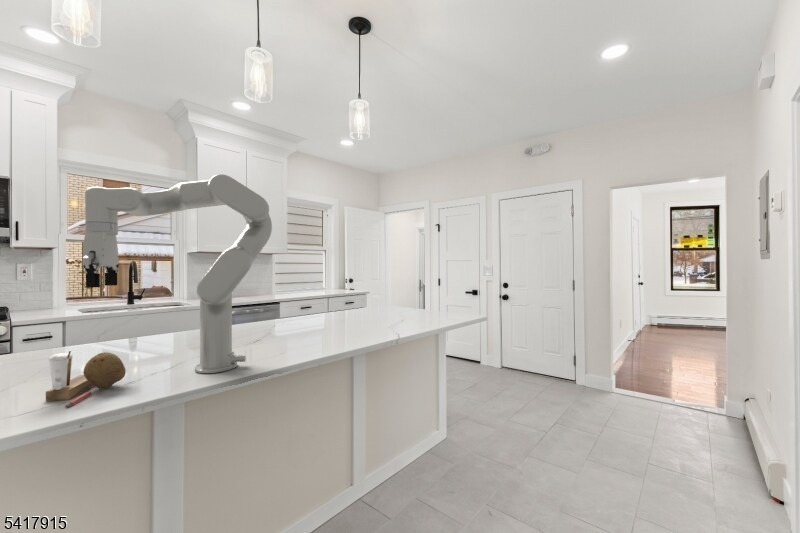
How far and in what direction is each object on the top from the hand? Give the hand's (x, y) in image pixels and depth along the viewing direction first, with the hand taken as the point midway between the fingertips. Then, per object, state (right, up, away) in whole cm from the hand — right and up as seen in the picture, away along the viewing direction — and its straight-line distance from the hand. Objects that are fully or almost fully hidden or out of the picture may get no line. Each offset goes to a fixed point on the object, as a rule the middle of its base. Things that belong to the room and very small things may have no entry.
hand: (102, 286), depth 109 cm
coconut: (+6, -29, -6) cm, 30 cm away
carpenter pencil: (+7, -28, -16) cm, 33 cm away
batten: (0, -28, -9) cm, 30 cm away
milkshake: (+1, -26, -14) cm, 30 cm away
